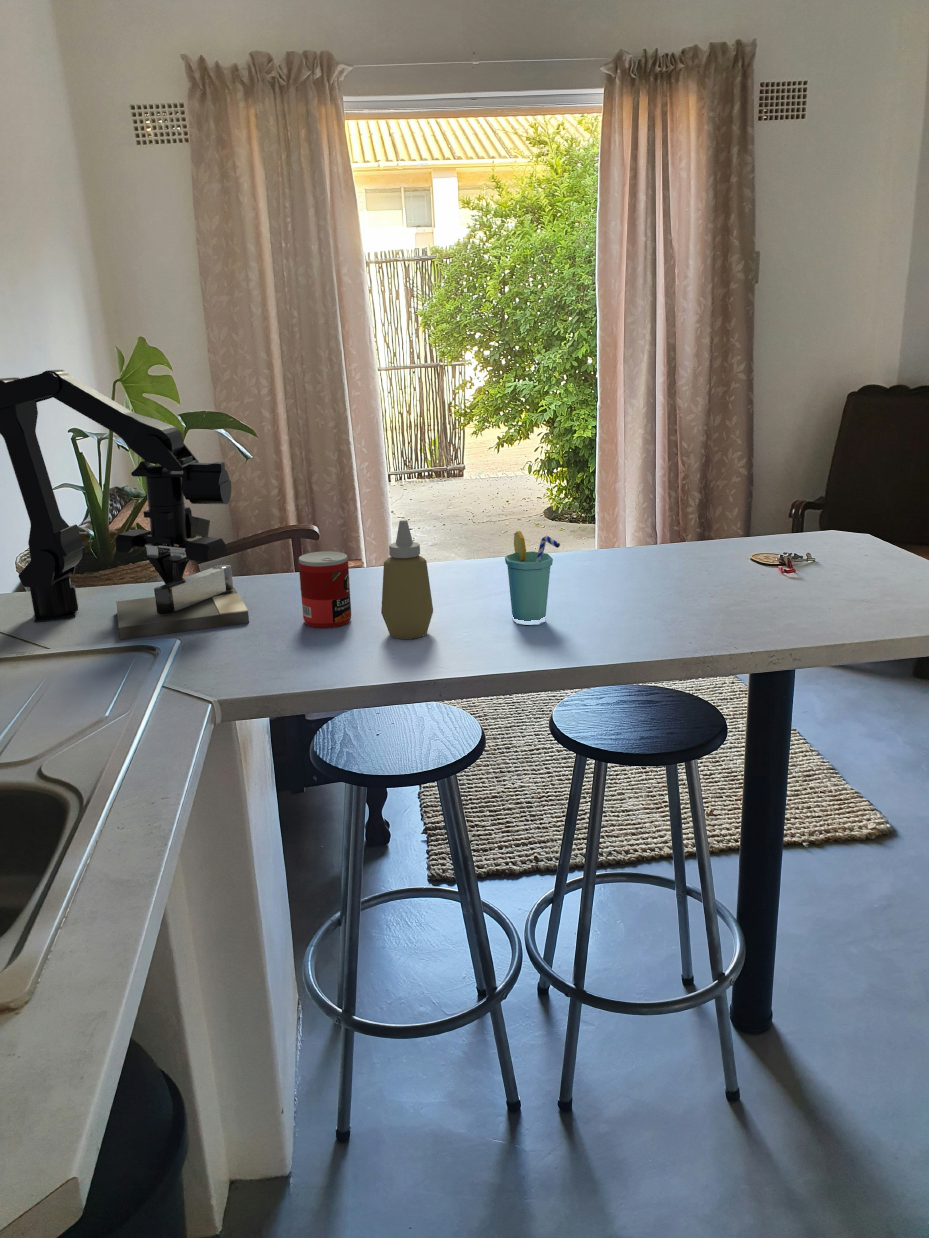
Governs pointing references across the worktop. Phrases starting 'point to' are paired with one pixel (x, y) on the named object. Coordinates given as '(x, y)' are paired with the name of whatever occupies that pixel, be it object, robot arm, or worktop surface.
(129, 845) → the worktop surface
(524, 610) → the cup
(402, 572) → the squeeze bottle
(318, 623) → the canned food
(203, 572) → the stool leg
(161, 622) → the wooden board
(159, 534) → the robot arm
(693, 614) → the worktop surface
